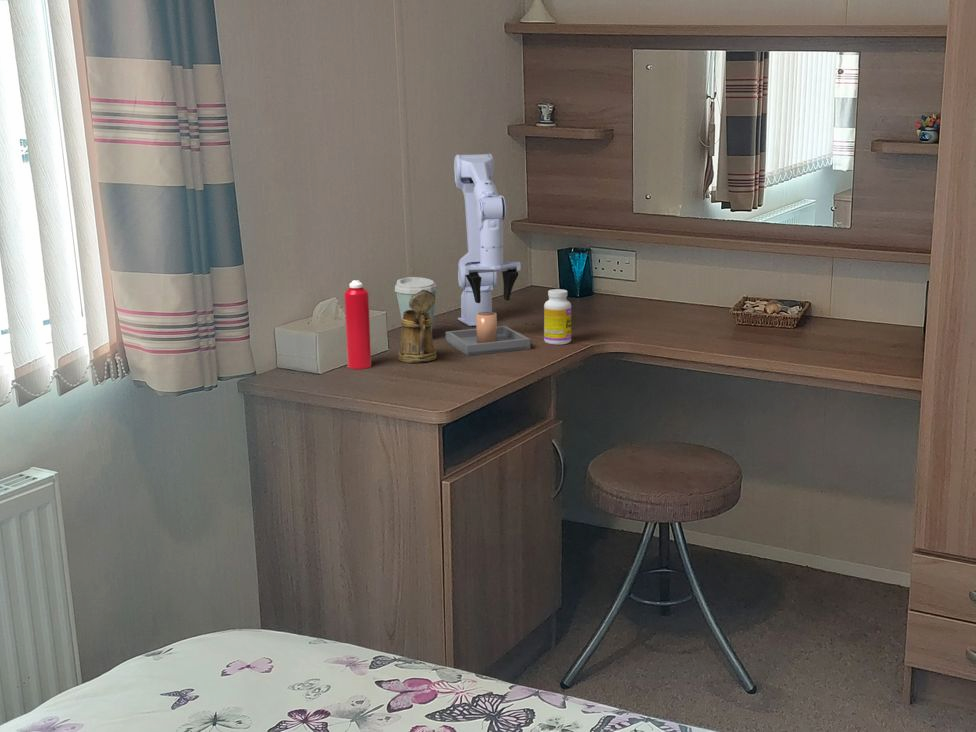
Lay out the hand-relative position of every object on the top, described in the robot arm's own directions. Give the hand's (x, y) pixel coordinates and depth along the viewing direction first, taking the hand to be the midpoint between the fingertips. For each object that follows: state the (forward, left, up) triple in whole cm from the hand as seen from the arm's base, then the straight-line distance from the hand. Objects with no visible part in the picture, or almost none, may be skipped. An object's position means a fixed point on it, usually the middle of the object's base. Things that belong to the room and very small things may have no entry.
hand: (492, 301), depth 290 cm
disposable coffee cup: (-9, -17, -10) cm, 22 cm away
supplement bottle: (+9, +14, -10) cm, 19 cm away
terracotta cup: (+4, -3, -9) cm, 11 cm away
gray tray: (+5, -3, -10) cm, 11 cm away
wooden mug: (+13, -23, -10) cm, 28 cm away
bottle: (+12, -37, -10) cm, 40 cm away
